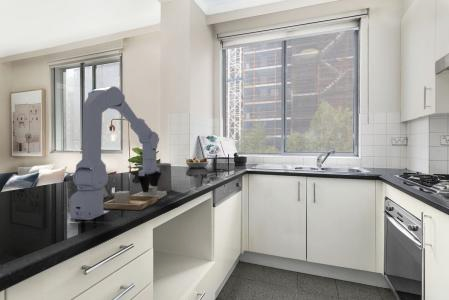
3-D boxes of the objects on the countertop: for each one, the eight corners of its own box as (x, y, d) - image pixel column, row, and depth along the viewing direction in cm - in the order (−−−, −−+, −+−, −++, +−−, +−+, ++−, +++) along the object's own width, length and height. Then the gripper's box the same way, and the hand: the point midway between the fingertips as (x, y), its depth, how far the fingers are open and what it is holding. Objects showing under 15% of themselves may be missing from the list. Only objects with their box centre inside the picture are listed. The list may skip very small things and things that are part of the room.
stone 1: (126, 204, 91) (126, 193, 90) (114, 205, 90) (114, 193, 90) (130, 202, 94) (129, 191, 94) (118, 202, 94) (118, 191, 94)
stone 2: (152, 198, 101) (152, 187, 101) (143, 197, 102) (142, 187, 102) (157, 196, 105) (157, 186, 105) (147, 195, 106) (147, 185, 106)
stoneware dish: (155, 201, 98) (155, 196, 97) (132, 200, 99) (132, 195, 99) (166, 195, 108) (166, 191, 108) (145, 195, 110) (145, 190, 110)
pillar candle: (155, 189, 124) (154, 160, 124) (173, 189, 124) (173, 160, 124) (148, 193, 115) (147, 162, 114) (168, 193, 114) (168, 162, 114)
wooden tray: (140, 211, 83) (140, 205, 83) (101, 209, 86) (101, 203, 86) (158, 201, 97) (158, 196, 97) (124, 200, 100) (124, 195, 100)
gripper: (149, 160, 95) (150, 194, 96) (165, 158, 110) (165, 187, 110) (133, 160, 97) (134, 193, 97) (151, 158, 111) (151, 187, 111)
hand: (150, 190), depth 104 cm, fingers open, 7 cm apart
